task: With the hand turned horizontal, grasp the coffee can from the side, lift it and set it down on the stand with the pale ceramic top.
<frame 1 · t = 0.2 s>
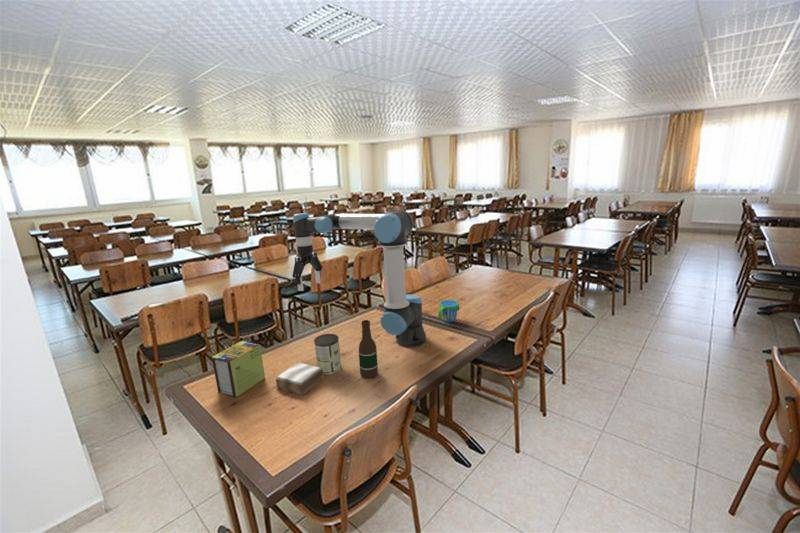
hand: (310, 286, 187), 27 cm above the table, tool pointing down, fingers open, 13 cm apart
coffee can: (329, 368, 162), on the table
stand: (300, 383, 152), on the table
snack cup: (449, 320, 207), on the table
beer bottle: (369, 375, 156), on the table
protein box: (242, 385, 152), on the table
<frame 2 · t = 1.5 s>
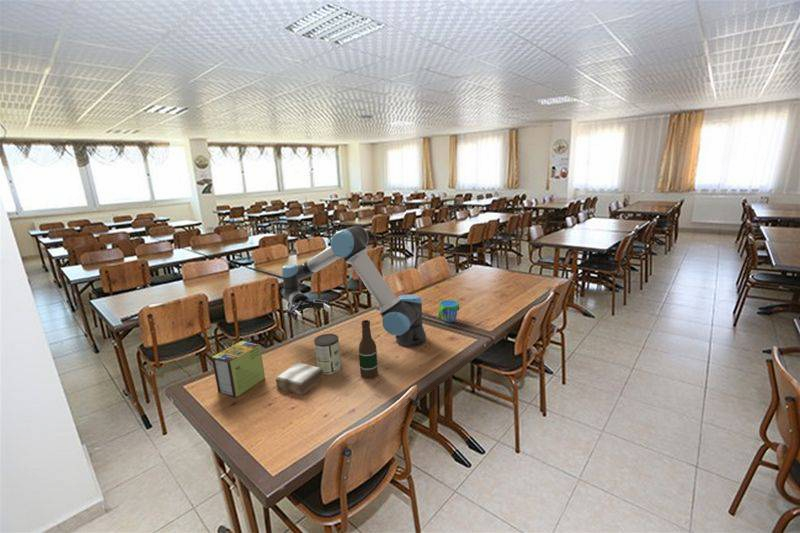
hand: (315, 313, 164), 22 cm above the table, tool horizontal, fingers open, 13 cm apart
nothing on the table moved.
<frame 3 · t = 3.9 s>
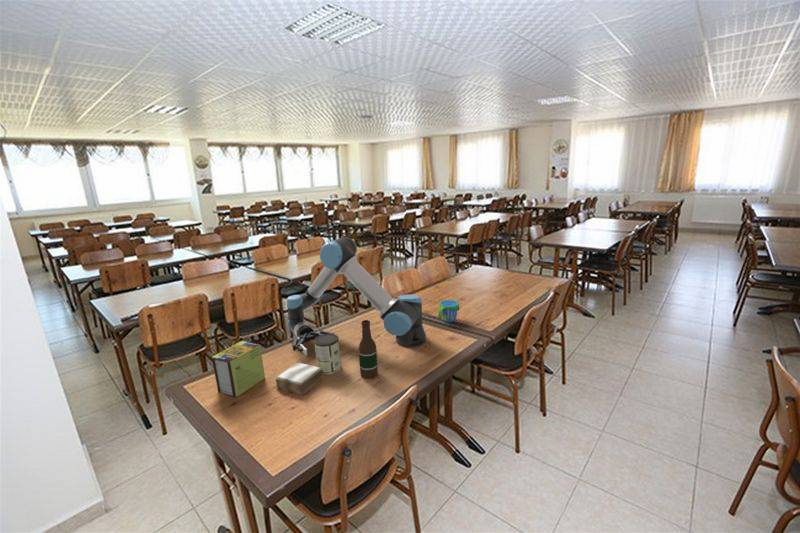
hand: (321, 347, 165), 7 cm above the table, tool horizontal, fingers open, 13 cm apart
nothing on the table moved.
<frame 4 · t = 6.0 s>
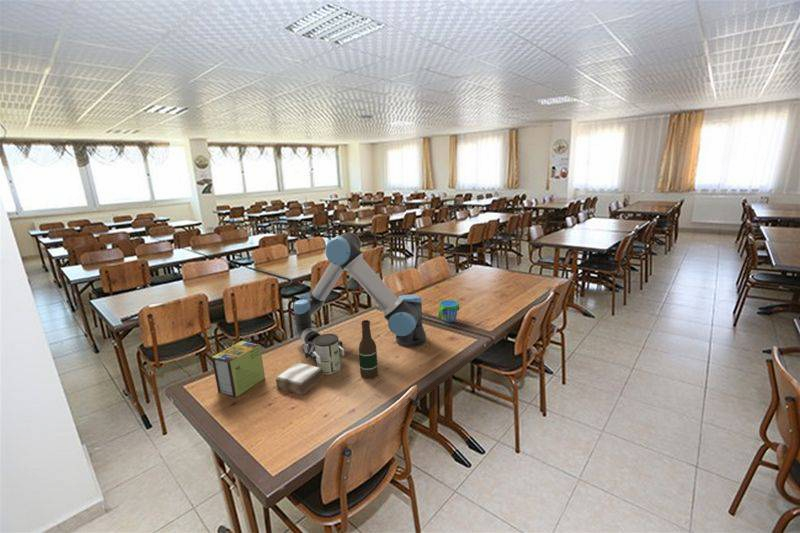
hand: (331, 356, 157), 8 cm above the table, tool horizontal, fingers closed on coffee can, 10 cm apart
coffee can: (329, 368, 162), on the table, touching gripper
everything else where it was.
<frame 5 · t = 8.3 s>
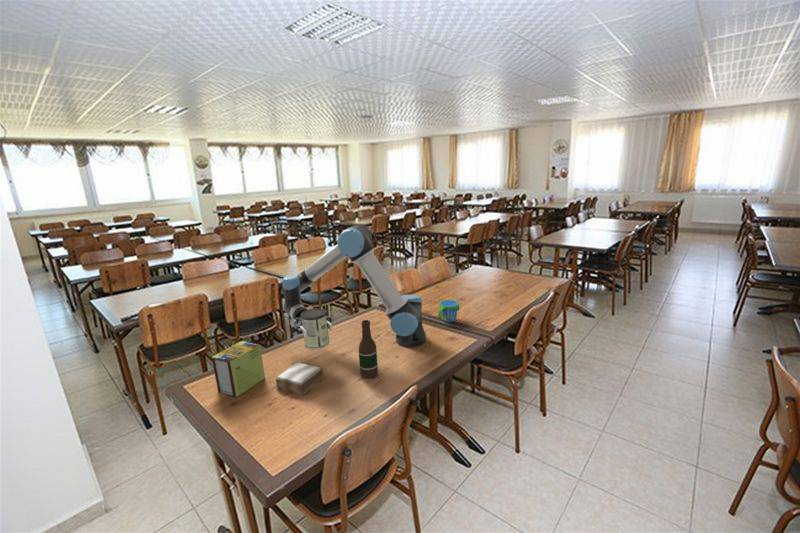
hand: (319, 330, 151), 20 cm above the table, tool horizontal, fingers closed on coffee can, 10 cm apart
coffee can: (316, 344, 157), point 13 cm above the table, touching gripper
everything else where it was.
when the fingers open (14 cm above the table, at t = 10.7 s): coffee can drops 1 cm, resting on stand.
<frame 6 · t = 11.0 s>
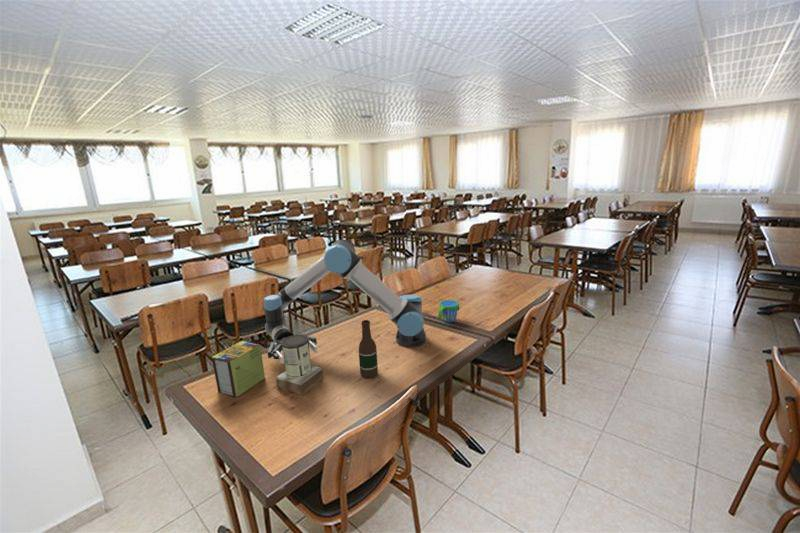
hand: (299, 354, 145), 14 cm above the table, tool horizontal, fingers open, 13 cm apart
coffee can: (299, 372, 150), point 5 cm above the table, touching stand
everything else where it was.
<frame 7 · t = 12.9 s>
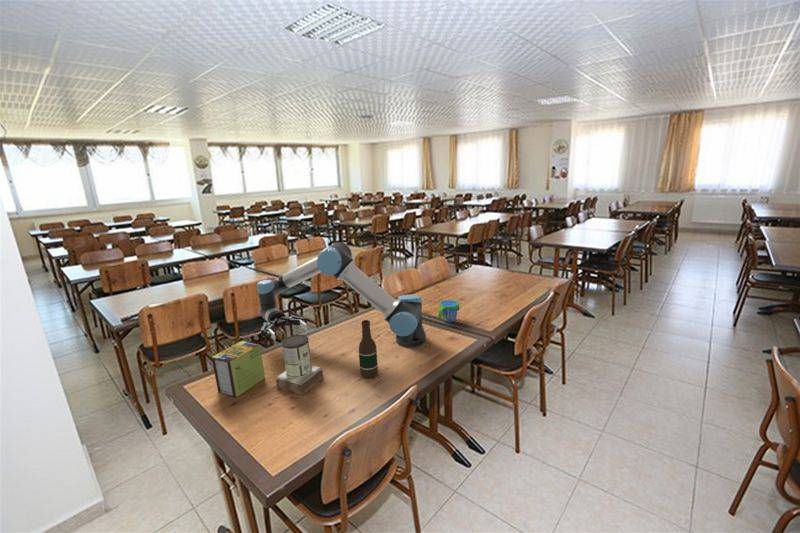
hand: (290, 332, 156), 18 cm above the table, tool horizontal, fingers open, 13 cm apart
nothing on the table moved.
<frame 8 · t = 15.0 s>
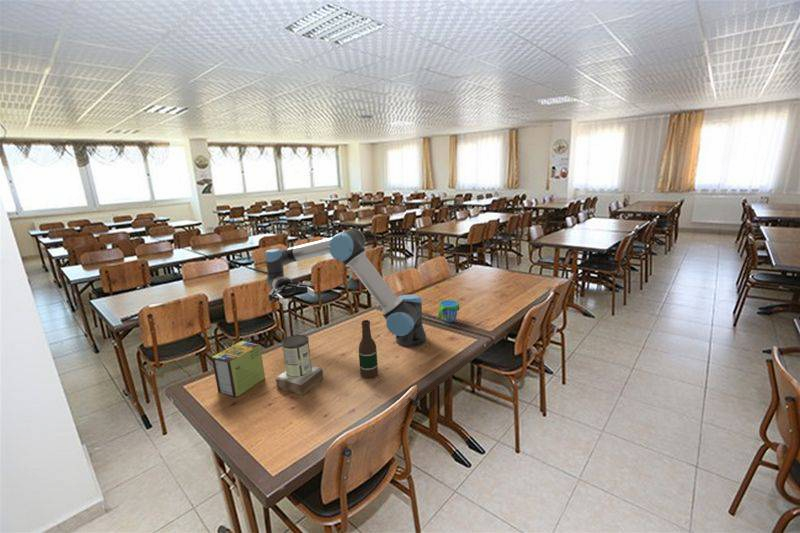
hand: (298, 297, 157), 32 cm above the table, tool horizontal, fingers open, 13 cm apart
nothing on the table moved.
at the end: coffee can 0.1 cm from the stand (horizontally); coffee can touching stand; coffee can tilted 0° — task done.
